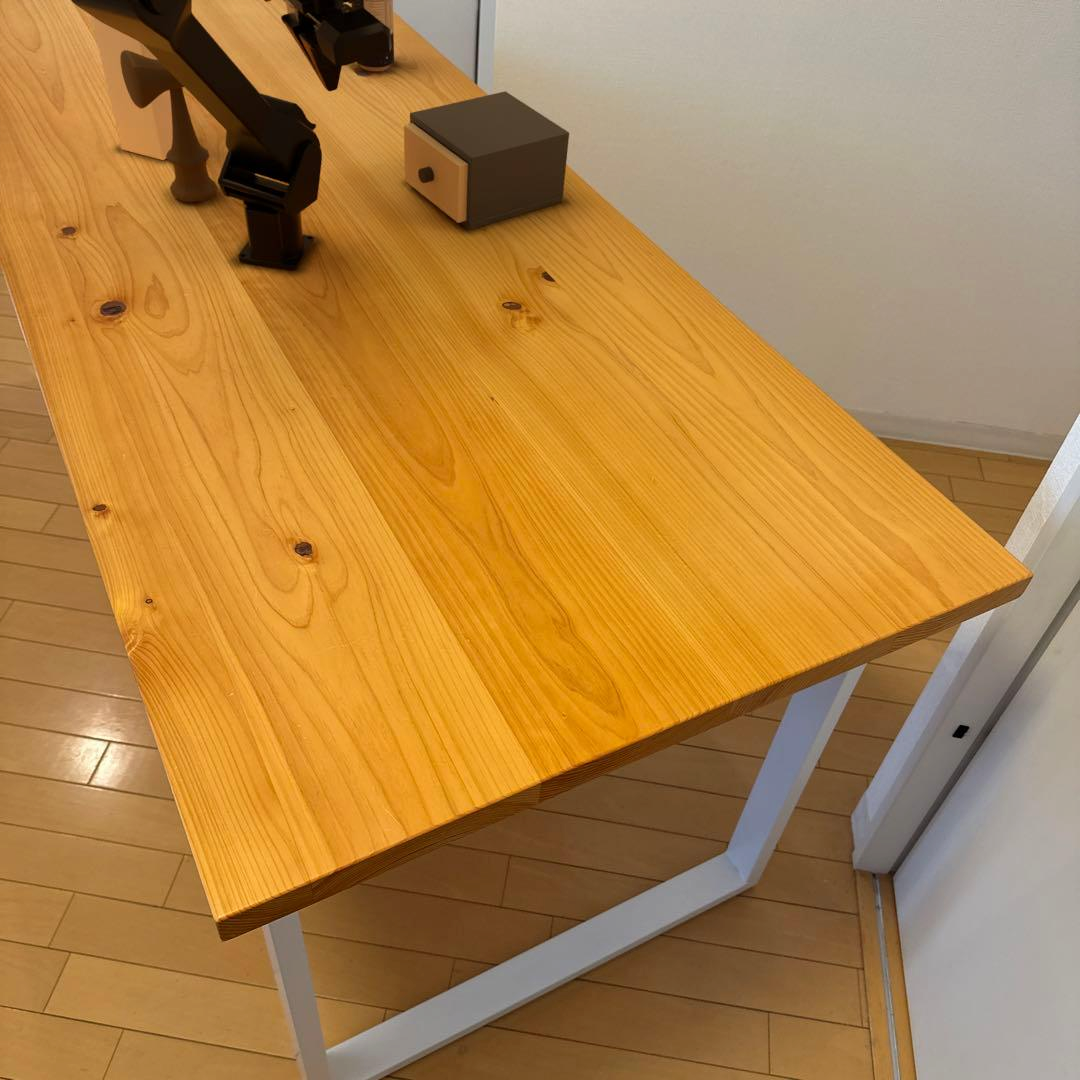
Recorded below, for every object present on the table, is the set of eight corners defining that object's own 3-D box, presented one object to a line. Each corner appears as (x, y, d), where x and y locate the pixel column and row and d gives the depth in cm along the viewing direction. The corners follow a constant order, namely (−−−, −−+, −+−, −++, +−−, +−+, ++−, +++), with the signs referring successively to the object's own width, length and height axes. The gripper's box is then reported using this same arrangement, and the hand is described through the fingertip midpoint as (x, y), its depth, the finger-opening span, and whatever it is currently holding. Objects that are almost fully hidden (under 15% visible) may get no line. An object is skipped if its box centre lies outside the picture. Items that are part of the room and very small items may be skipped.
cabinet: (469, 230, 115) (471, 158, 109) (410, 183, 122) (409, 112, 116) (562, 202, 121) (569, 132, 115) (501, 159, 128) (505, 91, 122)
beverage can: (397, 60, 147) (395, -30, 138) (389, 75, 143) (387, -16, 134) (359, 55, 147) (355, -35, 138) (350, 70, 143) (345, -21, 134)
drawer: (449, 225, 114) (449, 168, 109) (395, 183, 120) (394, 126, 115) (545, 197, 120) (549, 142, 115) (490, 158, 126) (492, 103, 121)
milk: (163, 161, 121) (123, -42, 105) (120, 149, 122) (74, -53, 106) (192, 141, 125) (158, -57, 109) (150, 130, 126) (110, -68, 110)
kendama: (245, 197, 116) (219, 13, 102) (162, 215, 112) (123, 25, 98) (225, 175, 119) (197, -7, 105) (144, 191, 115) (103, 4, 101)
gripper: (433, -53, 93) (441, 107, 106) (337, -122, 102) (355, 33, 115) (326, -24, 89) (348, 138, 102) (235, -98, 98) (266, 59, 111)
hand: (331, 89), depth 107 cm, fingers closed
